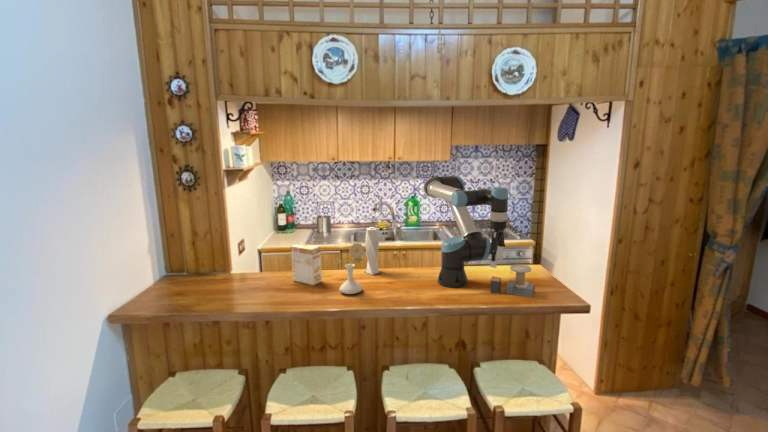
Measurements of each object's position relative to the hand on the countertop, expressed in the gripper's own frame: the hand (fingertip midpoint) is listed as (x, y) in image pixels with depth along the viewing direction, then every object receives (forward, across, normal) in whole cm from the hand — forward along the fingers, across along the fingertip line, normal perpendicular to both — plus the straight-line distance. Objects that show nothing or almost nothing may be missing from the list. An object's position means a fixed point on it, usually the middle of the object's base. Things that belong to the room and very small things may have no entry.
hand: (496, 263), depth 199 cm
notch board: (+14, +4, -11) cm, 19 cm away
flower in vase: (+15, -31, +63) cm, 72 cm away
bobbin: (+14, +14, -9) cm, 22 cm away
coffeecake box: (+15, -28, +93) cm, 99 cm away
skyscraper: (+15, -2, +68) cm, 70 cm away
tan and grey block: (+15, 0, 0) cm, 15 cm away
